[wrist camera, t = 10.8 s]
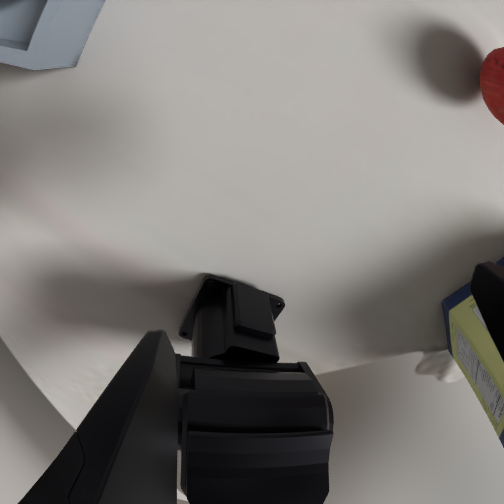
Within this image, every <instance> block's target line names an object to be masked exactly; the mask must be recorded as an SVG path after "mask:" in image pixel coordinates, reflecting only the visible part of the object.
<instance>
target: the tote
mask: <svg viewBox="0 0 504 504" xmlns="http://www.w3.org/2000/svg"><path fill="white" fill-rule="evenodd" d="M104 2H105V0H0V62H1V63H5V64H10V65H14V66H18V67H22V68H27V69H31V70H42V69H52V68H64V67H76V65H77V63H78V60H79V57H80V55H81V52H82V50H83V48H84V45H85V43H86V40H87V38H88V36H89V34H90V31H91V29H92V27H93V25H94V23H95V20H96V18H97V16H98V14H99V12H100V10H101V8H102V6H103V4H104Z"/></svg>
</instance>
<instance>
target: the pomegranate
mask: <svg viewBox="0 0 504 504" xmlns="http://www.w3.org/2000/svg"><path fill="white" fill-rule="evenodd" d="M480 87H481V91H482V95H483V99H484V101H485V103H486V105H487V107H488V109H489V110H490V112H491V113H492V114H493V115H494V117H495V118H496V119H498V120H499V121H500V122H501V123H502V124H503V125H504V47H502V48H498V49H494V50H493V51H492V52H490V53H489V54H488V55H487V57H486V58H485V60H484V61H483V63H482V67H481V72H480Z"/></svg>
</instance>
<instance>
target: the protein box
mask: <svg viewBox="0 0 504 504" xmlns="http://www.w3.org/2000/svg"><path fill="white" fill-rule="evenodd" d="M496 264H497V265H500V266H502V267H504V257H503V258H502V259H501V260H500V261H498V262H497V263H496ZM470 283H471V282H470ZM470 283H468V284H467V285H465V286H464V287H462V288H461V289H459V290H458V291H456V292H455V293H453V294H452V295H450V296H449V297H447V298H446V299H445V300H443V302H442V305H443V312H444V319H445V326H446V333H447V341H448V349H449V352H450V354H451V355H452V357H453V358H454V359H455V361H456V362H457V364H458V366H459V367H460V369H461V370H462V372H463V374H464V375H465V377H466V379H467V380H468V382H469V384H470V385H471V387H472V389H473V391H474V392H475V394H476V396H477V398H478V400H479V401H480V403H481V405H482V407H483V409H484V411H485V412H486V414H487V416H488V418H489V420H490V422H491V423H492V425H493V427H494V429H495V431H496V433H497V435H498V437H499V439H500V441H501V443H502V445H503V447H504V362H503V360H502V358H501V356H500V354H499V352H498V350H497V348H496V346H495V344H494V342H493V340H492V338H491V336H490V334H489V332H488V330H487V327H486V325H485V323H484V320H483V318H482V316H481V313H480V311H479V309H478V307H477V304H476V302H475V300H474V298H473V296H472V294H471V291H470Z"/></svg>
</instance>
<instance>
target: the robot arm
mask: <svg viewBox="0 0 504 504" xmlns="http://www.w3.org/2000/svg"><path fill="white" fill-rule="evenodd" d="M209 281H213V283H208V282H209ZM470 291H471V294H472V296H473V298H474V300H475V302H476V304H477V307H478V309H479V311H480V313H481V316H482V318H483V320H484V323H485V325H486V327H487V330H488V332H489V334H490V336H491V338H492V340H493V342H494V344H495V346H496V348H497V350H498V352H499V354H500V356H501V358H502V360H503V362H504V267H502V266H500V265H497V264H495V263H493V262H491V261H482V262H479V263H477V264H476V266H475V269H474V272H473V276H472V279H471V283H470ZM278 303H280V304H279V305H276V304H278ZM284 307H285V303H284V300H283V299H282V298H280V297H277V296H274V295H271V294H268V293H267V292H264V291H261V290H258V289H255V288H252V287H249V286H246V285H243V284H240V283H235V282H232V281H229V280H226V279H223V278H220V277H217V276H214V275H207V276H206V277H205V278H204V279H203V281H202V283H201V285H200V287H199V289H198V291H197V293H196V295H195V297H194V299H193V301H192V303H191V306H190V308H189V310H188V312H187V314H186V316H185V318H184V320H183V322H182V324H181V326H180V328H179V336H180V337H182V338H186V339H189V340H192V357H190V356H181V354H176V353H175V352H174V349H173V347H172V345H171V343H170V341H169V339H168V337H167V335H166V333H165V331H164V330H162V329H159V330H151V331H148V332H147V333H146V334H145V335H144V337H143V338H142V339H141V341H140V342H139V344H138V345H137V346H136V348H135V349H134V350H133V352H132V353H131V354H130V356H129V357H128V358H127V360H126V361H125V362H124V364H123V365H122V367H121V368H120V369H119V371H118V372H117V373H116V375H115V376H114V377H113V379H112V380H111V382H110V383H109V384H108V386H107V387H106V389H105V390H104V391H103V393H102V394H101V395H100V397H99V398H98V400H97V401H96V402H95V404H94V405H93V407H92V408H91V410H90V411H89V412H88V414H87V415H86V417H85V418H84V419H83V421H82V422H81V424H80V425H79V427H78V428H77V430H76V431H77V432H74V434H73V435H72V436H71V438H70V439H69V441H68V442H67V444H66V445H65V446H64V448H63V449H62V451H61V452H60V453H59V455H58V456H57V457H56V459H55V460H54V461H53V462H52V464H51V465H50V466H49V467H48V469H47V470H46V471H45V472H44V474H43V475H42V476H41V477H40V478H39V480H38V481H37V482H36V483H35V484H34V485H33V487H32V488H31V489H30V490H29V491H28V493H27V494H26V495H25V496H24V498H23V499H22V500H21V501H20V502H19V503H18V504H177V450H179V473H180V484H181V489H182V491H183V492H184V494H185V495H186V497H187V500H188V502H189V503H190V504H323V503H324V501H325V499H326V497H327V495H328V493H329V473H328V461H329V451H330V446H331V442H332V438H333V423H334V421H333V410H332V405H331V402H330V401H329V398H328V396H327V395H326V393H325V391H324V390H323V388H322V386H321V385H320V383H319V382H318V380H317V379H316V377H315V375H314V374H313V372H312V371H311V369H310V367H309V366H308V364H307V363H306V362H297V363H277V362H278V361H279V359H280V358H279V353H278V348H277V343H276V339H275V334H276V329H275V324H274V321H275V320H276V318H277V317H278V315H279V314H280V313H281V311H282V310H283V308H284Z"/></svg>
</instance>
